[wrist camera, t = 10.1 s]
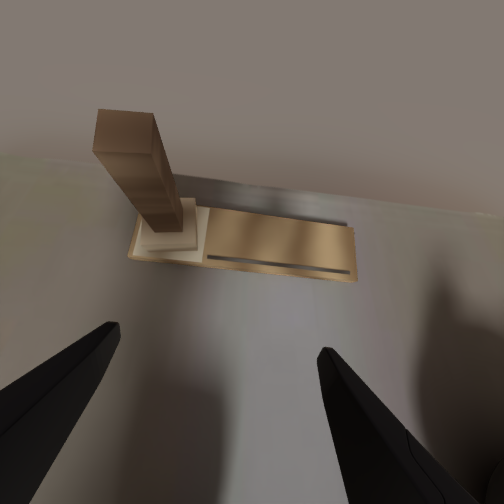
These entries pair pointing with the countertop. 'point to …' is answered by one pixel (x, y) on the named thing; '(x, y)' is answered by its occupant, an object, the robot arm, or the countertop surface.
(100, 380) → the robot arm
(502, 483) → the coal bowl
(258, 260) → the oak plank
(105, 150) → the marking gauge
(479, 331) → the countertop surface
